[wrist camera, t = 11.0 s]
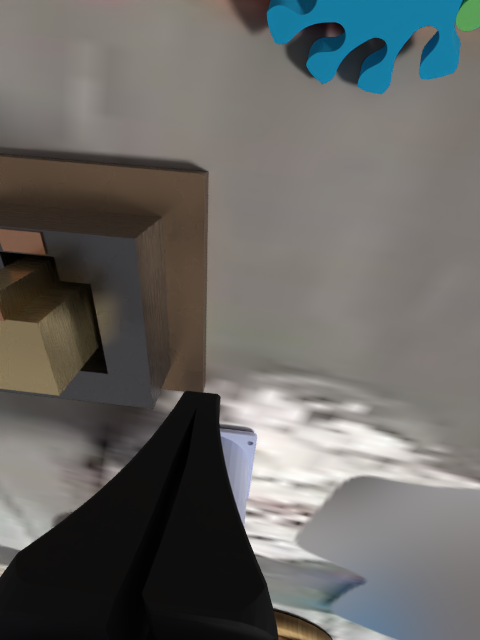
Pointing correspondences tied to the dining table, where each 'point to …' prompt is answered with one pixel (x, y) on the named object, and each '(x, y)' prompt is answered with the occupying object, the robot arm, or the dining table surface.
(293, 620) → the wooden plate with food
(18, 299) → the keyed shaft
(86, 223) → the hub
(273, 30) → the gear
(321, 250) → the dining table surface
